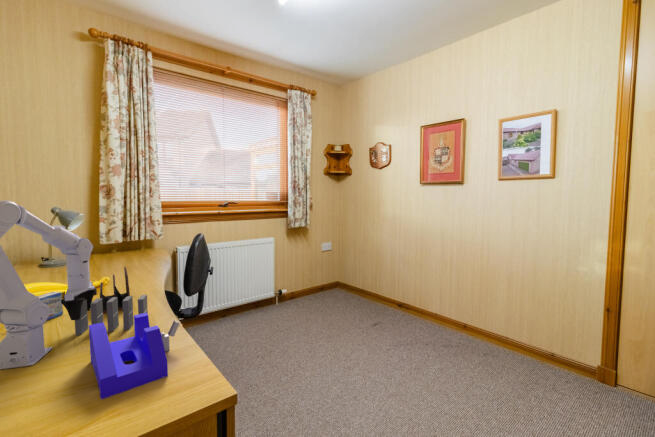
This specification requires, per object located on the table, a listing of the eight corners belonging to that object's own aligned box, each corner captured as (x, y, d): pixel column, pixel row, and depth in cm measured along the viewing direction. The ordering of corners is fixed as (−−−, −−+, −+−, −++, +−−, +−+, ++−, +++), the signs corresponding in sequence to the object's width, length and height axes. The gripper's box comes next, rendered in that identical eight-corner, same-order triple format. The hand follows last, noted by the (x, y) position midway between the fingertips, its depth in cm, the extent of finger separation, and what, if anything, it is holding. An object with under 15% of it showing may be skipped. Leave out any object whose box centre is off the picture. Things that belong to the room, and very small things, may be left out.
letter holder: (128, 295, 140) (126, 264, 139) (130, 309, 124) (129, 274, 123) (100, 299, 135) (99, 267, 134) (99, 314, 118) (97, 277, 117)
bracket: (90, 362, 85) (88, 325, 84) (147, 346, 94) (146, 312, 93) (101, 401, 70) (98, 355, 69) (167, 377, 79) (166, 336, 78)
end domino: (144, 328, 106) (143, 299, 106) (138, 328, 106) (137, 299, 105) (148, 322, 111) (146, 294, 110) (142, 322, 111) (141, 295, 110)
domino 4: (129, 329, 105) (127, 300, 104) (123, 330, 104) (122, 300, 104) (133, 323, 110) (132, 295, 109) (128, 324, 109) (127, 296, 108)
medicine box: (40, 323, 110) (38, 298, 109) (30, 321, 111) (28, 297, 110) (63, 314, 118) (62, 292, 117) (54, 313, 119) (52, 291, 118)
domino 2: (97, 333, 102) (96, 303, 102) (91, 333, 102) (90, 303, 101) (103, 326, 107) (102, 298, 106) (98, 327, 107) (96, 298, 106)
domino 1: (81, 334, 101) (79, 304, 100) (75, 335, 101) (73, 305, 100) (88, 328, 106) (86, 299, 105) (82, 328, 105) (80, 299, 105)
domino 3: (113, 331, 104) (112, 301, 103) (107, 331, 103) (106, 302, 102) (118, 325, 108) (117, 297, 108) (113, 325, 108) (111, 297, 107)
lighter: (153, 354, 89) (152, 327, 88) (152, 352, 90) (151, 325, 90) (180, 347, 93) (179, 321, 93) (179, 344, 95) (178, 319, 94)
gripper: (83, 279, 96) (85, 322, 97) (101, 268, 110) (103, 306, 111) (55, 281, 94) (58, 325, 95) (77, 269, 108) (79, 308, 109)
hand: (80, 315), depth 103 cm, fingers open, 7 cm apart
